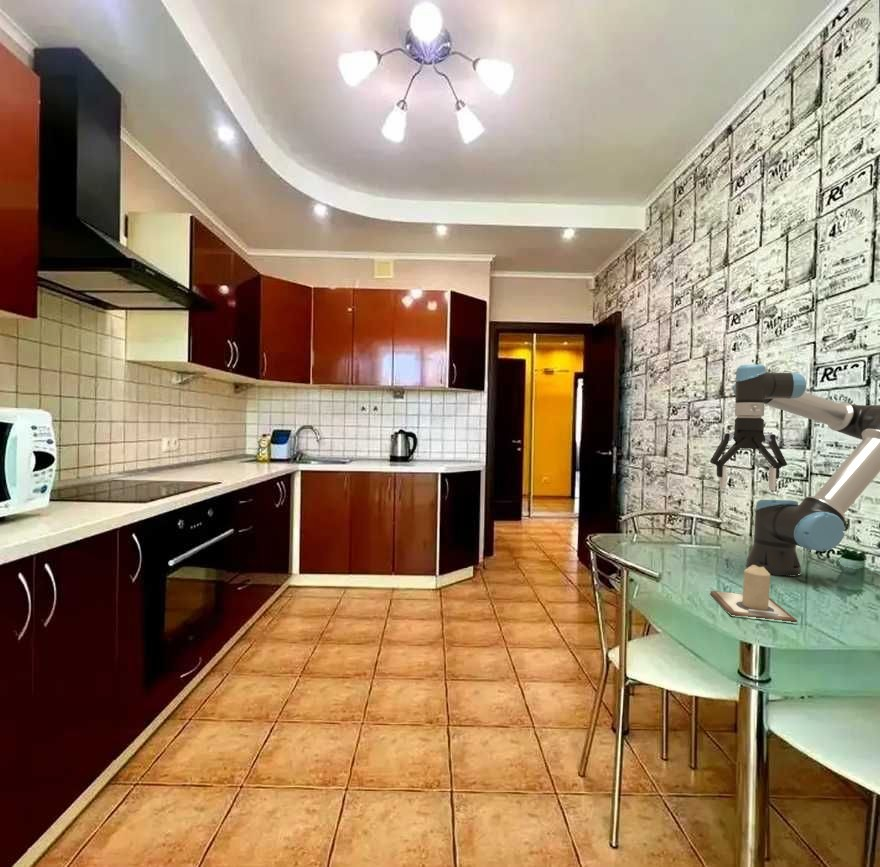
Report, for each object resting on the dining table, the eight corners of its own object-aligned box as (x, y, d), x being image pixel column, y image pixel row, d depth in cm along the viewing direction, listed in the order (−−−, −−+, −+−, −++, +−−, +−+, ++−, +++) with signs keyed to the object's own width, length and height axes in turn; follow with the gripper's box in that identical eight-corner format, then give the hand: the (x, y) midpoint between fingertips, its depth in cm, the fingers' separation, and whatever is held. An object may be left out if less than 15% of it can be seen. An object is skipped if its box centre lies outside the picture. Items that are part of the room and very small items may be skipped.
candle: (737, 602, 135) (739, 563, 134) (758, 603, 135) (760, 563, 135) (751, 610, 129) (754, 569, 129) (773, 611, 129) (776, 569, 129)
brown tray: (767, 600, 142) (768, 592, 142) (797, 624, 125) (797, 616, 125) (710, 594, 145) (710, 586, 145) (730, 617, 128) (731, 608, 128)
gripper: (708, 416, 157) (706, 489, 158) (801, 418, 153) (799, 492, 154) (700, 416, 165) (698, 486, 165) (789, 418, 161) (787, 489, 161)
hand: (747, 489), depth 160 cm, fingers open, 13 cm apart
